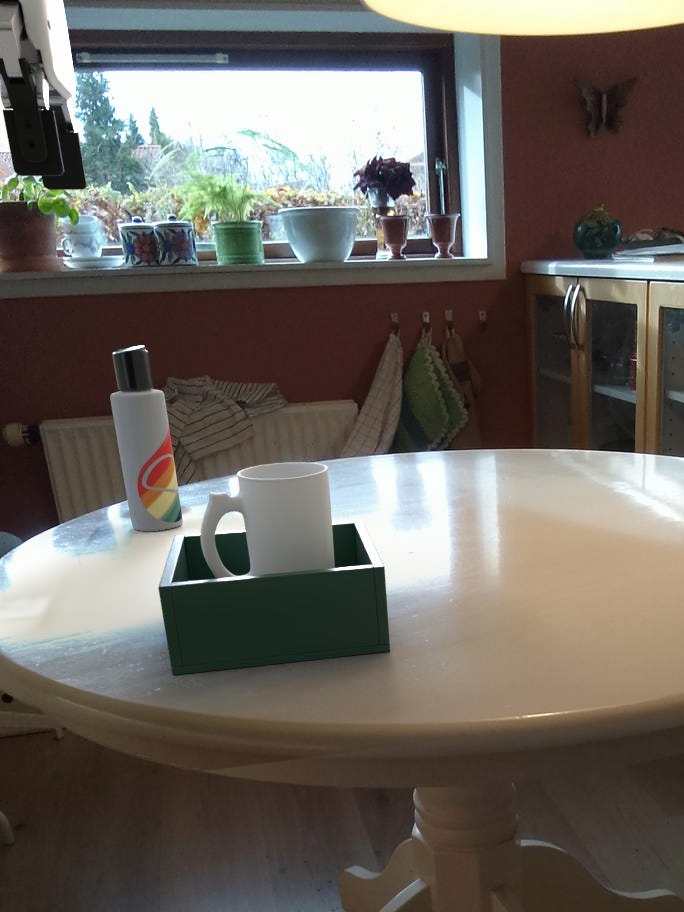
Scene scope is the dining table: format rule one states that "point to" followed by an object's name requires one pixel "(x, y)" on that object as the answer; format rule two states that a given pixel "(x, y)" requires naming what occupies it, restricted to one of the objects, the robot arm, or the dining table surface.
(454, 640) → the dining table surface
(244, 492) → the mug
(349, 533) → the bin
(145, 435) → the lotion bottle
